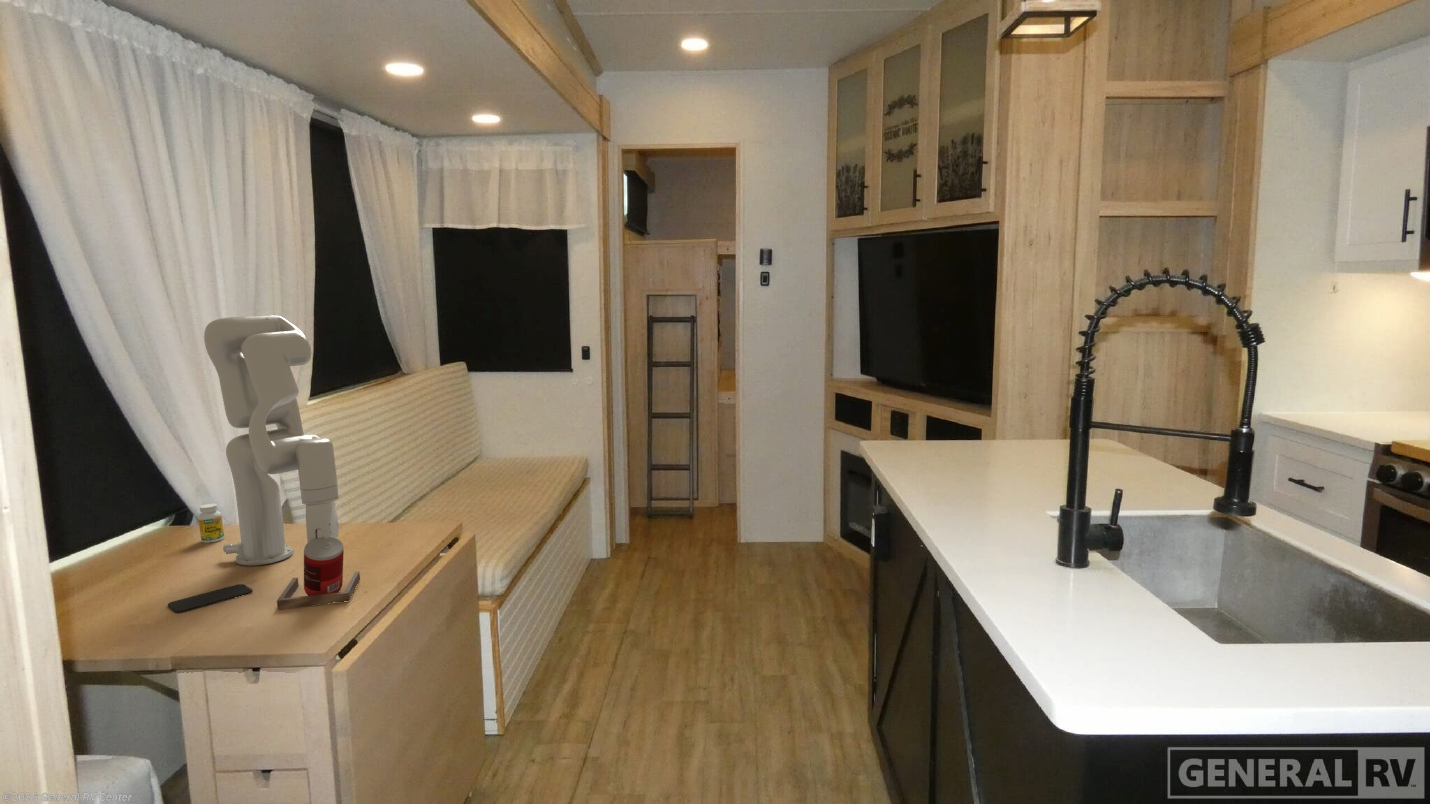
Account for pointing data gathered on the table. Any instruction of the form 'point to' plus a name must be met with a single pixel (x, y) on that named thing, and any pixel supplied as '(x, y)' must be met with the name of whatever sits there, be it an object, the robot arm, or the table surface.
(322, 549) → the canned food
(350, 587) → the walnut frame
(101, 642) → the table surface
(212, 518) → the supplement bottle
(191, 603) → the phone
